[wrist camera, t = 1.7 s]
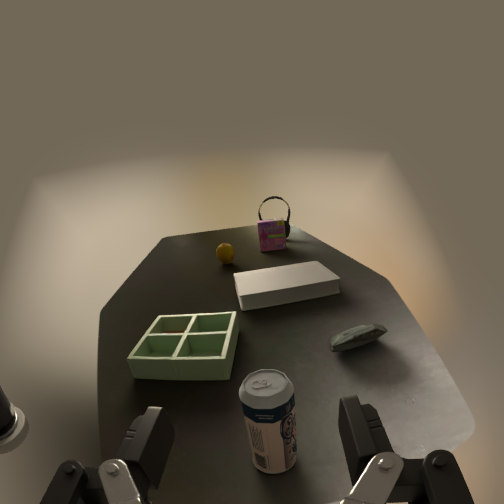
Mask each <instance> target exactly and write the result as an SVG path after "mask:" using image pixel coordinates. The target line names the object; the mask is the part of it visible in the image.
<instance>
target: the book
mask: <svg viewBox="0 0 504 504" xmlns="http://www.w3.org/2000/svg"><path fill="white" fill-rule="evenodd" d="M339 280H341V278H339V277H338V276H337V275H335V274H334V273H333V272H331V271H330V270H329V269H327V268H326V267H325V266H323V265H322V264H320V263H319V262H318V261H312V262H305V263H299V264H293V265H287V266H280V267H274V268H267V269H261V270H254V271H248V272H241V273H234V282H235V287H236V291H237V295H238V299H239V303H240V306H241V310H242V311H246V310H252V309H259V308H265V307H270V306H276V305H282V304H287V303H293V302H298V301H304V300H309V299H314V298H319V297H325V296H330V295H334V294H339V293H341V291H340V290H339Z"/></svg>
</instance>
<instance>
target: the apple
mask: <svg viewBox="0 0 504 504" xmlns="http://www.w3.org/2000/svg"><path fill="white" fill-rule="evenodd" d="M216 254H217V257H218V259H219V260H220V261H221V262H222V263H223V264H230V263H231V262H232V261H233V258H234V250H233V247H232V246H231V245H230V244H223V243H222V244H220V245H219V246H218V247H217V250H216Z"/></svg>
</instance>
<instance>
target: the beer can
mask: <svg viewBox="0 0 504 504" xmlns="http://www.w3.org/2000/svg"><path fill="white" fill-rule="evenodd" d="M239 397H240V400H241V402H242V407H243V412H244V417H245V422H246V427H247V432H248V436H249V441H250V446H251V450H252V455H253V463H254V465H255V466H256V468H258V469H259V470H261V471H262V472H265V473H270V474H275V473H281V472H284V471H286V470H288V469H290V468H291V467H292V466H293V465H294V463H295V462H296V459H297V446H296V422H295V401H294V387H293V384H292V383H291V381H290V380H289V379H288V378H287V376H286V375H285V374H284V373H282V372H280V371H277V370H275V369H261V370H258V371H256V372H253V373H250V374H249V375H248V376H247V377H246V378H245V379H244V381H243V383H242V385H241V387H240V389H239Z"/></svg>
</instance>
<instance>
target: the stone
mask: <svg viewBox="0 0 504 504" xmlns="http://www.w3.org/2000/svg"><path fill="white" fill-rule="evenodd" d="M386 332H387V330H386V329H385V328H384V326H382V325H378V324H373V325H364V324H363V325H360V326H357V327H354V328H352V329H349V330H346V331H344V332H341V333H339V334H337V335H335V336H334V337H332V338H331V339H330V341H331V343H330V346H331V349H332V350H331V351H332V352H338V351H341V350H348V349H352V348H355V347H357V346H361V345H364V344H367V343H369V342H372V341H374V340H376V339H377V338H379V337H380V336H381V335H383V334H384V333H386Z"/></svg>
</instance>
